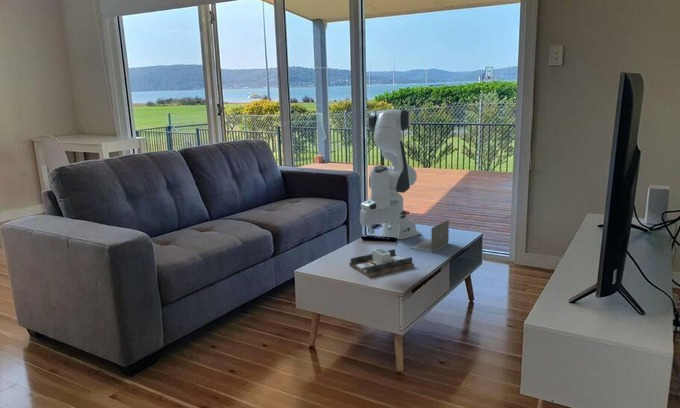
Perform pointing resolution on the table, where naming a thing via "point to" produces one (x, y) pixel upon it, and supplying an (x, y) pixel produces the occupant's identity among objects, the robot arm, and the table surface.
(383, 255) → the block
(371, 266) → the rail board
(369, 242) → the table surface
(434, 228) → the laptop
